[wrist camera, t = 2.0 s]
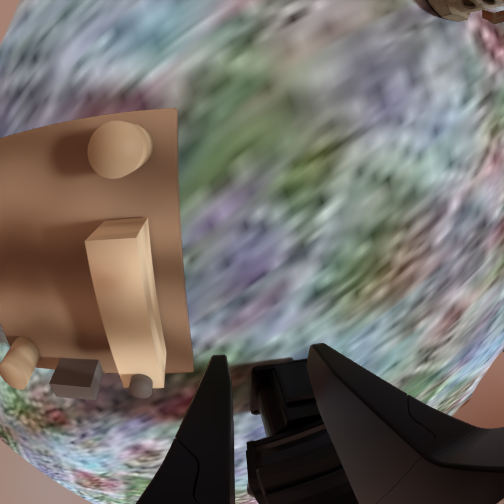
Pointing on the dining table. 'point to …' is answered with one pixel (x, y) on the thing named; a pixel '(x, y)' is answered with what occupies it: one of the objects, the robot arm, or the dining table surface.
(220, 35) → the dining table surface
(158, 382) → the folding leg
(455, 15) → the grenade model
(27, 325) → the stool seat
